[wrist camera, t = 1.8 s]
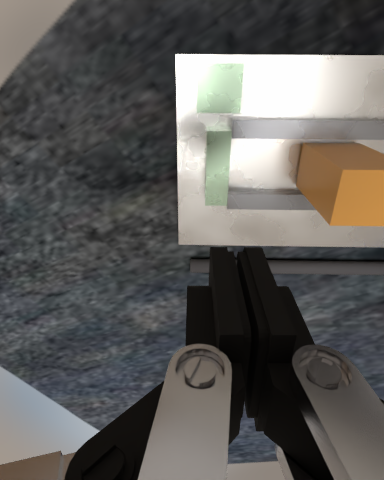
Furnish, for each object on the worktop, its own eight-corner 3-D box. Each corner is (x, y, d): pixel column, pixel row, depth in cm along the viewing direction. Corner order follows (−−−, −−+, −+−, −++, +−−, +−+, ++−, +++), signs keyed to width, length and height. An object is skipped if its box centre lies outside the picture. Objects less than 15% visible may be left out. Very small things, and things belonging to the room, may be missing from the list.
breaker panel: (505, 56, 21) (553, 54, 18) (430, 241, 28) (456, 260, 25) (176, 55, 21) (173, 52, 19) (179, 238, 28) (177, 256, 25)
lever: (359, 143, 22) (421, 170, 16) (348, 186, 24) (401, 226, 18) (303, 142, 22) (342, 169, 16) (296, 185, 24) (329, 225, 18)
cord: (411, 259, 29) (419, 266, 28) (407, 270, 29) (414, 278, 28) (190, 256, 29) (190, 263, 28) (190, 267, 29) (190, 275, 28)
